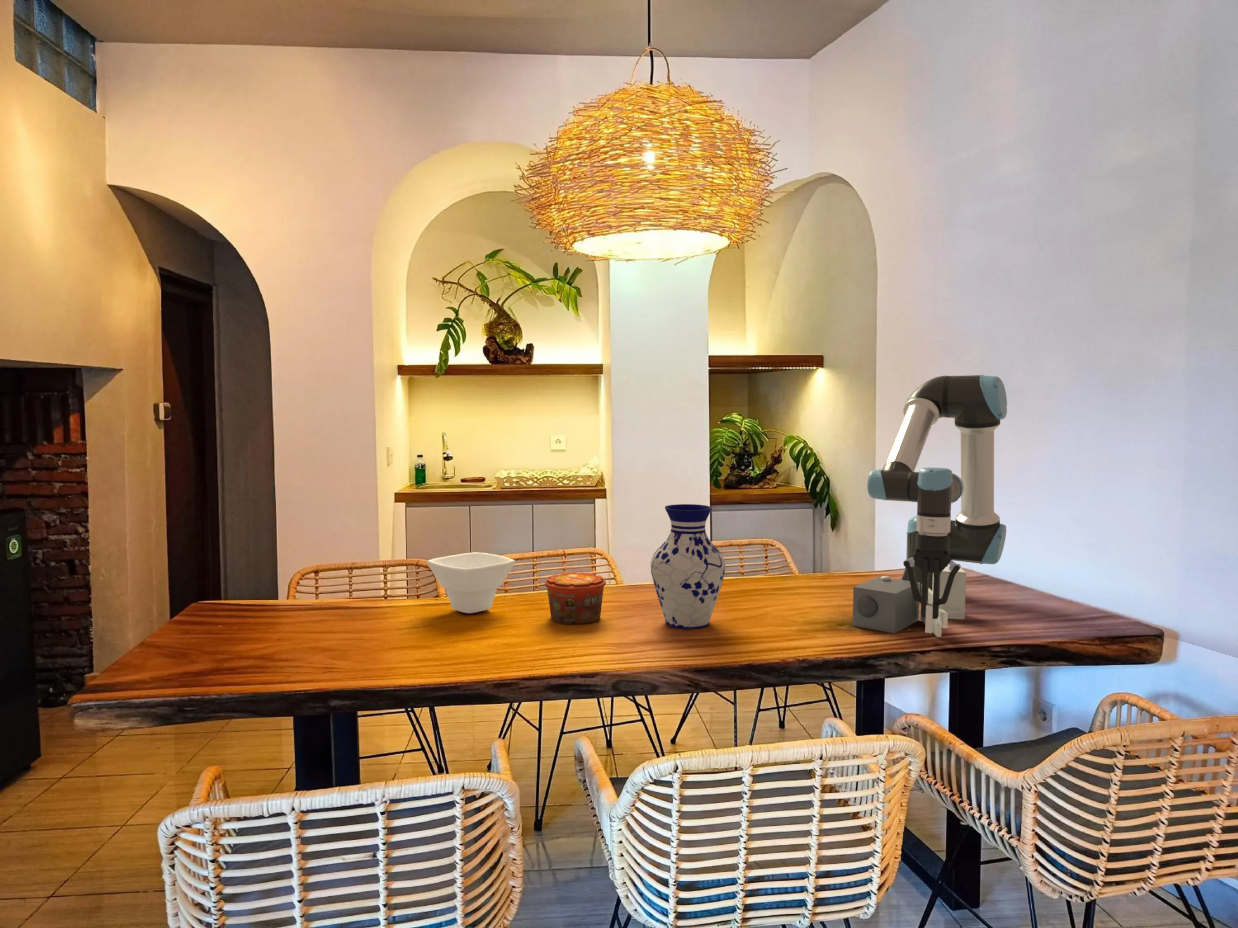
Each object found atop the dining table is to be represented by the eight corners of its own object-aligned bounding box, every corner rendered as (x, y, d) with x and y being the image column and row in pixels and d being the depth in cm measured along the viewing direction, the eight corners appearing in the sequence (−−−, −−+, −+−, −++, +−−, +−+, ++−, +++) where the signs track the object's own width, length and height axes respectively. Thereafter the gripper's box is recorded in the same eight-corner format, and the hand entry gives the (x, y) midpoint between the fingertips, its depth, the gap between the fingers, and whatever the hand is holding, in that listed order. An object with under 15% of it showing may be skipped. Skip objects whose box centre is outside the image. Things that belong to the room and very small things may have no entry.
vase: (731, 617, 226) (733, 504, 223) (715, 637, 208) (717, 514, 205) (661, 611, 232) (662, 501, 229) (640, 629, 214) (641, 510, 211)
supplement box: (965, 619, 224) (967, 572, 223) (935, 618, 226) (937, 570, 225) (959, 612, 232) (961, 566, 231) (931, 611, 233) (932, 565, 232)
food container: (534, 623, 220) (534, 581, 219) (560, 608, 235) (560, 569, 234) (592, 629, 214) (592, 587, 213) (614, 613, 229) (614, 574, 228)
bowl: (521, 610, 232) (521, 559, 231) (463, 624, 218) (462, 570, 216) (478, 599, 244) (478, 550, 243) (421, 611, 230) (420, 560, 229)
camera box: (878, 613, 231) (879, 573, 230) (918, 620, 224) (920, 579, 223) (851, 626, 218) (852, 584, 217) (893, 634, 211) (894, 590, 210)
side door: (919, 619, 224) (921, 583, 223) (923, 619, 224) (925, 583, 223) (942, 643, 202) (943, 604, 201) (946, 643, 202) (948, 604, 201)
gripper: (901, 533, 202) (898, 631, 204) (960, 537, 196) (956, 639, 198) (906, 529, 209) (903, 624, 211) (964, 533, 203) (960, 631, 205)
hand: (929, 631), depth 204 cm, fingers closed
